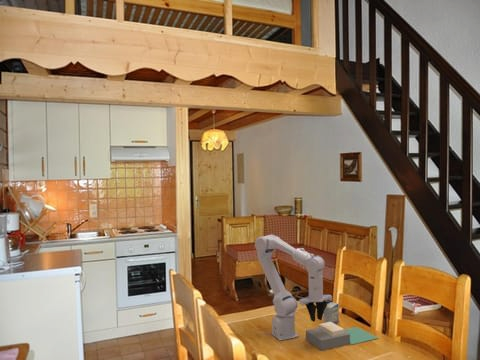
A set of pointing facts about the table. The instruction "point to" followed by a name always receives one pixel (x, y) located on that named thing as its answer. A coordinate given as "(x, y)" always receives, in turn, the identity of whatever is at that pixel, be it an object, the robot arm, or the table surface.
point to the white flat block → (331, 329)
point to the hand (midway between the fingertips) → (316, 320)
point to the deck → (326, 339)
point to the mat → (359, 335)
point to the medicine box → (331, 313)
